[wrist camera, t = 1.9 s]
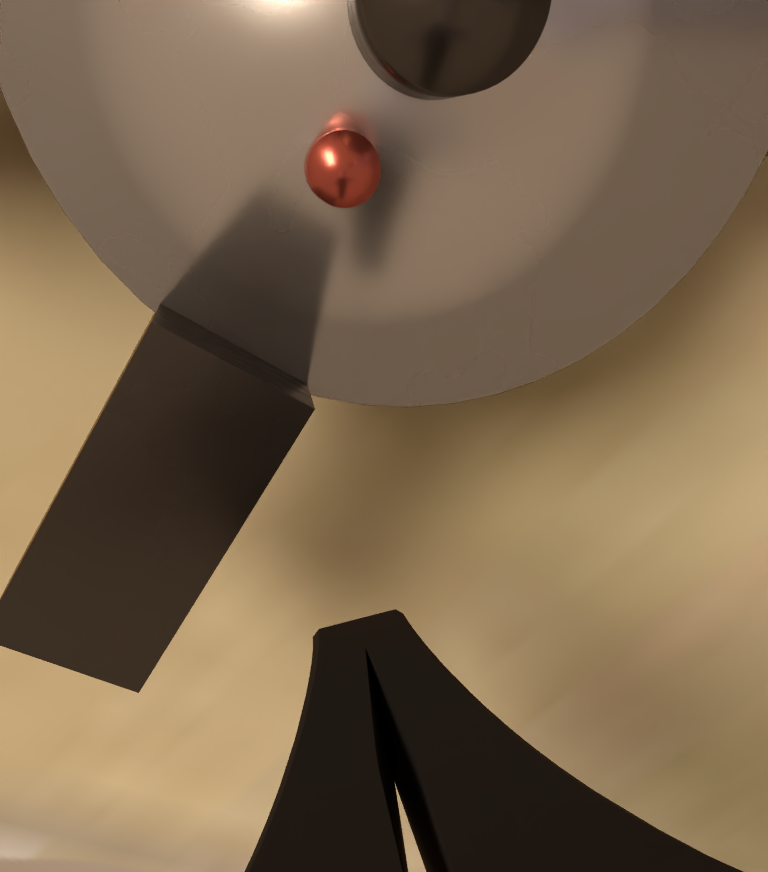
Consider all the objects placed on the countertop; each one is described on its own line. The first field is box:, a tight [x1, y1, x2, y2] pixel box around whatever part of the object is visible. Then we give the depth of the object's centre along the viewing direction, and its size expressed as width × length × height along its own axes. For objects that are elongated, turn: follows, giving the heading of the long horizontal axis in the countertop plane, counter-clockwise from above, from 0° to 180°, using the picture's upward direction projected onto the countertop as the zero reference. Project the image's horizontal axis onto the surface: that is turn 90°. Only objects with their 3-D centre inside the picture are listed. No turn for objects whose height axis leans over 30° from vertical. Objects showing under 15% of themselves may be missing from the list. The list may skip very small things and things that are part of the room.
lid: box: [0, 0, 768, 693], centre depth 10 cm, size 17×12×2 cm
